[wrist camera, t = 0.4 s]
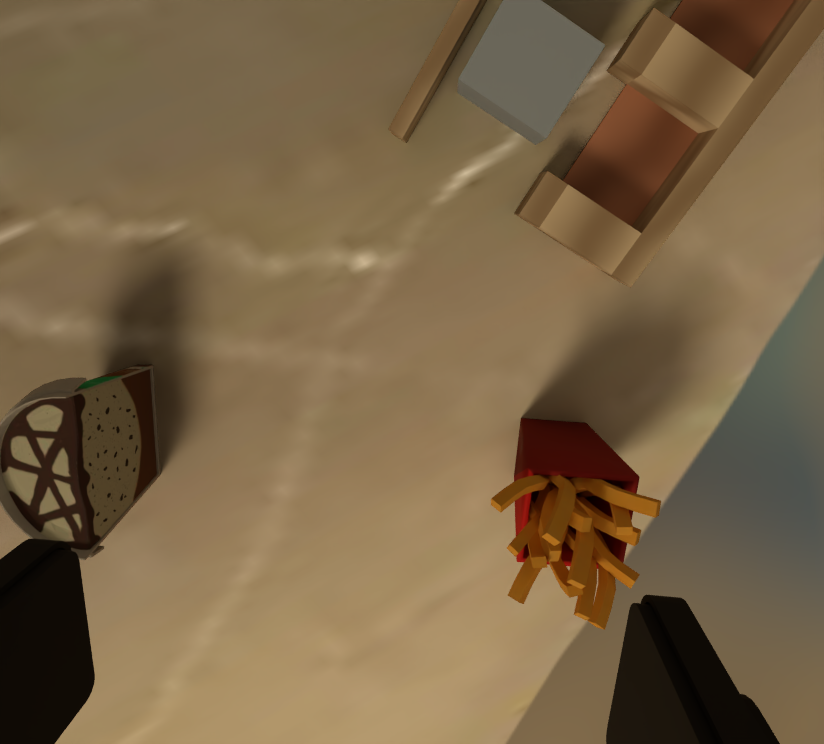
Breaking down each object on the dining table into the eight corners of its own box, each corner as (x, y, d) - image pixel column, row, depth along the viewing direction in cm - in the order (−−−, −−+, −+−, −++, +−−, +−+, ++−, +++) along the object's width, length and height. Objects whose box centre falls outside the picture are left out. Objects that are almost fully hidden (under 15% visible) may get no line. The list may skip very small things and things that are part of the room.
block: (457, 93, 36) (458, 79, 32) (506, 8, 35) (513, -19, 30) (535, 145, 37) (546, 138, 32) (586, 63, 35) (605, 45, 31)
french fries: (601, 411, 42) (678, 524, 27) (585, 510, 44) (649, 660, 30) (481, 403, 42) (495, 509, 28) (472, 501, 44) (481, 645, 30)
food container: (72, 338, 43) (-37, 378, 33) (151, 345, 43) (64, 388, 33) (88, 483, 47) (-6, 557, 37) (161, 491, 46) (85, 567, 37)
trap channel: (393, 134, 37) (387, 128, 34) (647, -326, 30) (673, -395, 26) (617, 280, 39) (633, 289, 35) (911, -119, 31) (967, -158, 28)
